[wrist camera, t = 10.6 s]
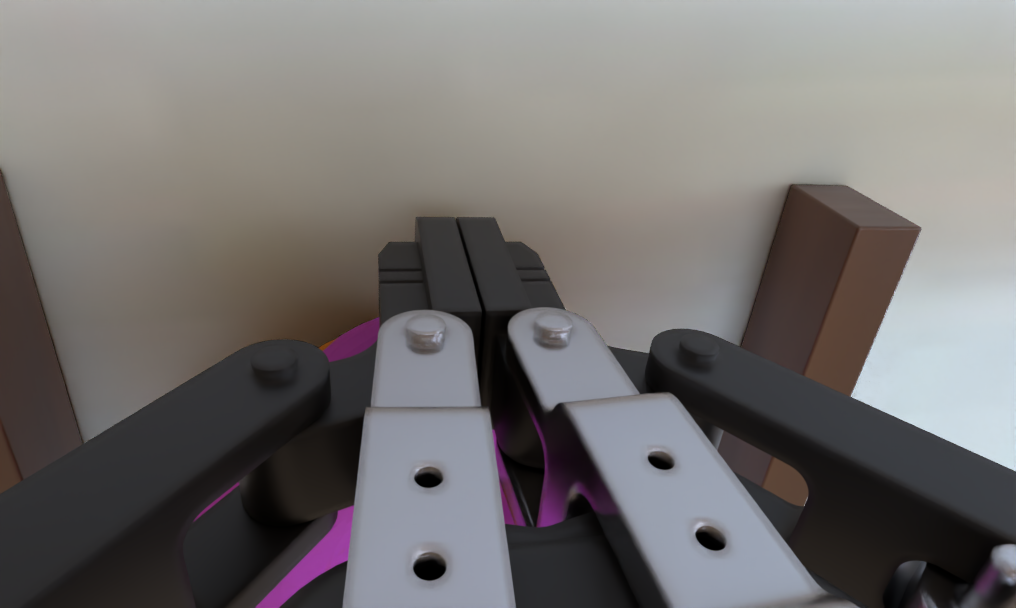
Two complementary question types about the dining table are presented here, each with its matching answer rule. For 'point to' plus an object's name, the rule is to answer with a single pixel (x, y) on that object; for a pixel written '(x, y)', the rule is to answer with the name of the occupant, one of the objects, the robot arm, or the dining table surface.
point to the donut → (338, 538)
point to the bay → (770, 334)
